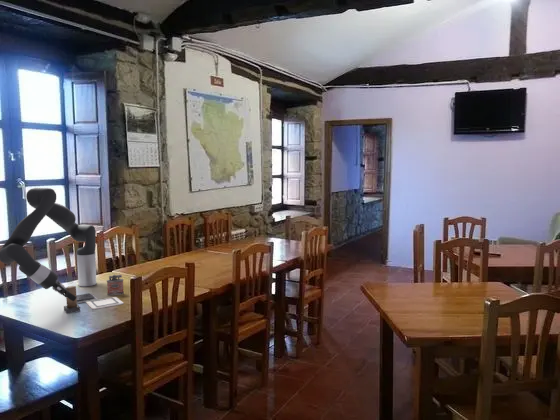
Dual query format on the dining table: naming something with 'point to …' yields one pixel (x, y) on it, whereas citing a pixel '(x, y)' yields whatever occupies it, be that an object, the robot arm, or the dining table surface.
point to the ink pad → (85, 298)
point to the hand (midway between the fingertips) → (72, 297)
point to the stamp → (71, 305)
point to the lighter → (115, 285)
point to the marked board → (104, 303)
